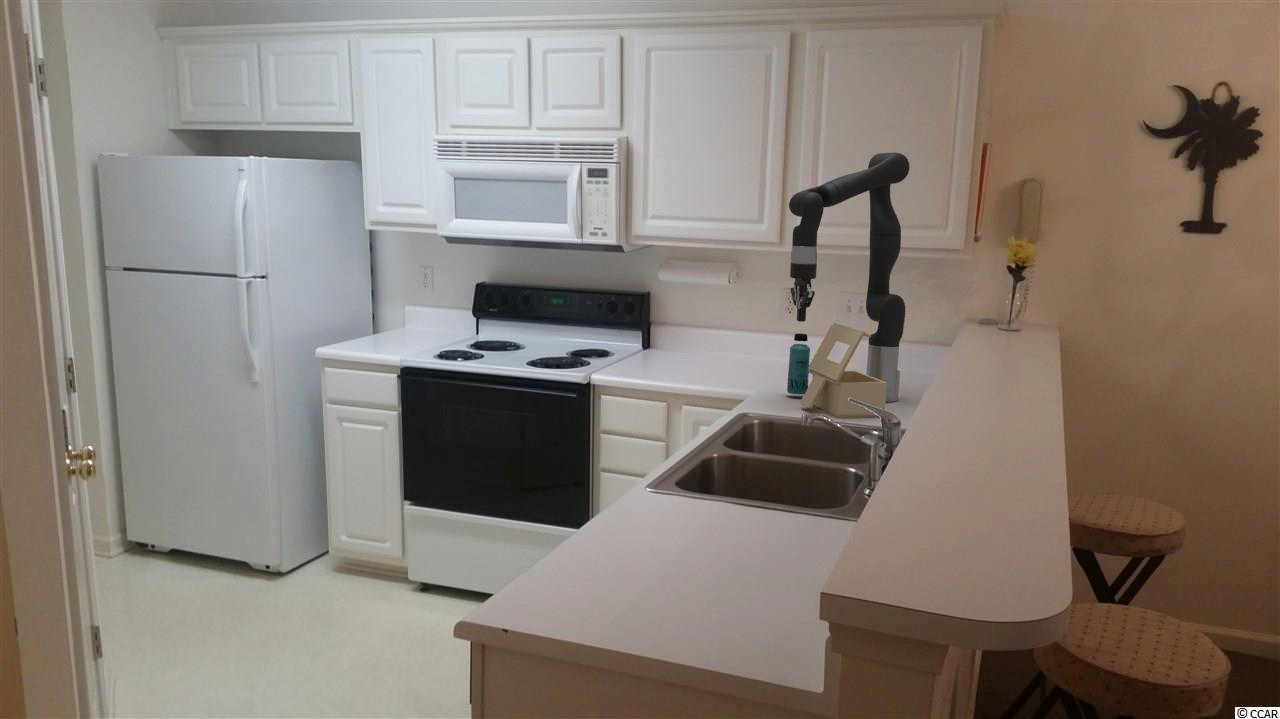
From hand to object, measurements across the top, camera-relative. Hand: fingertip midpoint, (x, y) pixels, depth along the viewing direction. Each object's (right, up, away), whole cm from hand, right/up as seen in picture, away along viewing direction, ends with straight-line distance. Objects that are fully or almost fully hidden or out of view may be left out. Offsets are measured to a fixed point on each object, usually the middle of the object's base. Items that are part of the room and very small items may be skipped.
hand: (801, 321), depth 276 cm
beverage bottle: (+2, -23, +18) cm, 29 cm away
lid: (+9, -14, -3) cm, 17 cm away
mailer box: (+13, -26, 0) cm, 29 cm away
